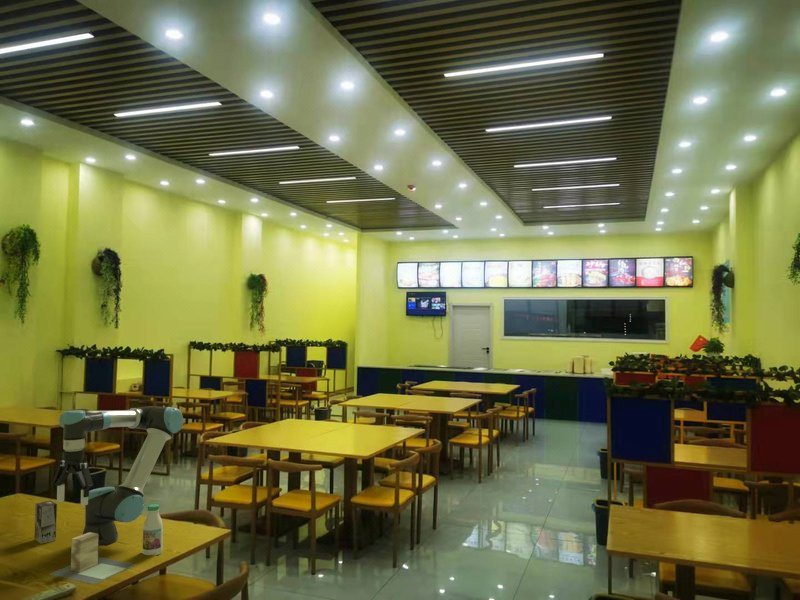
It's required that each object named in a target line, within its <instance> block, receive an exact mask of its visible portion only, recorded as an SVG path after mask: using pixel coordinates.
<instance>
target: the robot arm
mask: <svg viewBox="0 0 800 600" xmlns="http://www.w3.org/2000/svg"><path fill="white" fill-rule="evenodd" d="M183 416H184V415H183V413H182V411H181V410H180V409H179V408H176V407H172V406H158V405H153V406H151V405H150V406H141V407H131V408H129V409H123V410H121V409H120V410H119V409H118V410H116V409H115V410H84V409H83V410H81V409H80V410H79V409H75V410H65V411H63V412H62V413H61V414H60V415H59V419H58V423H59V425H60V427H61V428H63V447H62V448H63V452H62V460H59V461H58V466H57V468H56V471H55V474H54V477H53V480H52V484H55V486H56V504H58V503H62V502H64V501H65V488H66V487H65V486H66V485H65V481H66V480H67V478H68V477H69V475H70V474H73V475H75V477H77V478H76V479H78V481H79V484H80V486H81V487H82V488H81V489H80V507H84V506H85V508H84V509H85V510H84V511H85V512H84V518H85V519H84V528H83V530H82V534H81V535H83V534H86V533H89V532H91V533H96V534H98V546H102V547H103V545H104V546H107V545H108V546H109V545H111V544H113V543H115V542H117V541H118V540H119V532H118V530H117V526H116V523H115V522H119V523H132V522H133V521H136V520H137V519H138V518H140V516H141V515H142V514H143V511H144V509H145V500H144V496H145V493H144V488H145V486H146V484H147V482H148V480H149V477H150V475H151V473H152V471H153V468H154V467H155V464H156V463H157V460H158V459H159V456H160V454H161V452H162V450H163V448H164V446H165V444H166V442H167V441H169V440H171V439H172V437H173V435H174V434H176V433H178V432H180V431H181V430H182V428H183V425H184V417H183ZM121 427H123V428H124V427H125V428H126V427H128V428H129V429H138V430H139V429H140V430H145V431H146V432H147V436H146V438H145V439H144V442H143V444H142V446H141V448H140V450H139V452H138V454H137V456H136V458H135V460H134V462H133V464H132V466H131V469H130V470H129V472H128V474H127V475H126V478H125V480H124V482H123V483H122V484H120V485H118V486H117V488H115V486H103V487H98V488H94V489H91V488H93V487H94V482H93V479H92V476H91V471H90V469H89V462H84V463H83V460H84V458H85V449H84V448H85V445H86V444H85V441H86V440H85V437H86V433H92V432H98V431H103V430H106V429H109V428H121ZM90 489H91V490H90Z"/></svg>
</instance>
